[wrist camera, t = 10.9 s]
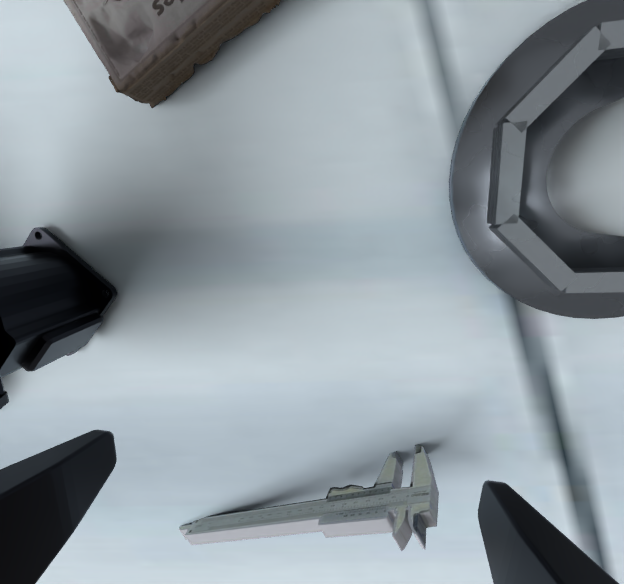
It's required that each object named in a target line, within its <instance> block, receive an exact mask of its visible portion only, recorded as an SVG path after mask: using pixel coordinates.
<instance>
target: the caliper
mask: <svg viewBox="0 0 624 584" xmlns="http://www.w3.org/2000/svg"><path fill="white" fill-rule="evenodd" d="M402 466H403V462H402V460H401V458H400V456H399V455H398V453H397V451H396V452H393V453H390V454H389V456H388V458H387V460H386V462H385V464H384V466H383V468H382V470H381V472H380V474H379V476H378V478H377V480H376V482H375V484H374V486H373V487H369V488H363V487H362V486H356V485H348V486H346V487H343V488H337V487H332V488H330V489H329V492H328V494H327V497H326V499H320V500H313V501H307V502H300V503H294V504H287V505H281V506H274V507H268V508H261V509H255V510H248V511H241V512H234V513H227V514H220V515H213V516H208V517H205V518H202V519H199V520H196V521H194V522H193V523H192V524H188V525H182V526H180V527H179V530H180V532H181V533H182V534H183V536H184V537H185V539H186V540H188V541H189V542H190V544H191V545H197V544H207V543H217V542H228V541H237V540H247V539H256V538H266V537H275V536H285V535H294V534H304V533H313V532H323V534H324V535H325V537H326V538H328V537H341V536H354V535H367V534H380V533H391V532H393V534H392V536H393V538H394V539H395V541H396V543H397V545H398V546H399V548H400V550H401V551H402V550H403V549H404V548H405V546H406V545H407V543H408V541H409V539H410V537H411V535H412V531H413V533H414V535H415V537H416V538H417V540H418V542H419V544H420V545H421V547H422V548H423V549H425V544H426V528H428V527H435V526H437V515H438V496H439V492H438V489H437V485H436V481H435V477H434V473H433V470H432V466H431V463H430V460H429V458H428V456H427V454H426V452H425V450H424V448H423V447H422V446H420V445H415V452H414V461H413V469H412V477H411V484H410V487H402V488H401V483H402V475H403V470H402Z"/></svg>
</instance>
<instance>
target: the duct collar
mask: <svg viewBox="0 0 624 584" xmlns="http://www.w3.org/2000/svg"><path fill="white" fill-rule="evenodd" d="M622 98H624V0H587V1H585V2H582V3H580V4H578V5H576V6H574V7H572V8H570V9H568V10H567V11H565V12H564V13H562V14H560V15H559V16H557V17H555V18H554V19H552V20H551V21H549V22H548V23H546V24H545V25H544V26H542V27H541V28H540V29H539V30H537V31H536V32H535V33H533V34H532V35H531V36H530V37H528V38H527V39H526V40H525V41H524V42H523V43H522V44H521V45H520V46H519V47H518V48H517V49H516V50H515V51H514V52H513V53H512V54H511V55H510V56H509V57H508V58H507V59H506V60H505V61H504V62H503V63H502V64H501V65H500V66H499V67H498V68H497V70H496V71H495V72H494V73H493V74H492V76H491V77H490V78H489V79H488V81H487V82H486V83H485V85H484V86H483V88H482V89H481V91H480V92H479V94H478V95H477V97H476V98H475V100H474V101H473V103H472V105H471V107H470V109H469V111H468V113H467V115H466V117H465V119H464V121H463V124H462V127H461V129H460V132H459V135H458V137H457V140H456V144H455V148H454V152H453V156H452V160H451V168H450V178H449V198H450V206H451V212H452V218H453V222H454V225H455V228H456V231H457V235H458V237H459V239H460V241H461V243H462V245H463V247H464V250H465V251H466V253H467V254H468V256H469V257H470V259H471V260H472V262H473V263H474V265H475V266H476V267H477V268H478V269H479V271H480V272H481V273H482V274H483V275H484V276H485V277H486V278H487V279H488V280H489V281H491V282H492V283H493V284H494V285H495V286H497V287H498V288H499V289H501V290H502V291H504V292H505V293H507V294H509V295H510V296H512V297H513V298H515V299H517V300H519V301H520V302H522V303H525V304H527V305H529V306H531V307H534V308H536V309H539V310H542V311H545V312H549V313H552V314H556V315H562V316H567V317H573V318H590V319H598V318H614V317H621V316H624V236H615V235H606V234H597V233H590V232H586V231H582V230H579V229H577V228H575V227H573V226H571V225H569V224H568V223H566V222H565V221H564V220H563V219H562V218H561V217H560V216H559V215H558V214H557V213H556V211H555V210H554V208H553V206H552V204H551V202H550V200H549V196H548V192H547V184H546V181H547V170H548V165H549V162H550V159H551V156H552V154H553V152H554V149H555V148H556V146H557V144H558V143H559V141H560V140H561V138H562V137H563V136H564V134H565V133H566V132H567V131H568V130H569V129H570V128H571V127H572V126H573V125H574V124H575V123H576V122H577V121H578V120H580V119H581V118H583V117H584V116H585V115H587V114H588V113H590V112H592V111H594V110H596V109H598V108H600V107H603V106H605V105H608V104H610V103H612V102H615V101H617V100H620V99H622Z"/></svg>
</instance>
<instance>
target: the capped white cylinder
mask: <svg viewBox="0 0 624 584" xmlns="http://www.w3.org/2000/svg"><path fill="white" fill-rule="evenodd" d="M546 184H547V192H548V196H549V200H550V202H551V204H552V206H553V208H554V210H555V211H556V213H557V214H558V215H559V216H560V217H561V218H562V219H563V220H564V221H565V222H566V223H568V224H569V225H571V226H573V227H575V228H577V229H579V230H582V231H586V232H590V233H597V234H606V235H615V236H624V98H622V99H620V100H617V101H615V102H612V103H610V104H608V105H605V106H603V107H600V108H598V109H596V110H594V111H592V112H590V113H588V114H587V115H585V116H584V117H583V118H581V119H580V120H578V121H577V122H576V123H575V124H574V125H573V126H572V127H571V128H570V129H569V130H568V131H567V132H566V133H565V134H564V136H563V137H562V138H561V140H560V141H559V143H558V144H557V146H556V148H555V149H554V152H553V154H552V156H551V159H550V162H549V165H548V170H547V181H546Z"/></svg>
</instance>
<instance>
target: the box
mask: <svg viewBox="0 0 624 584" xmlns="http://www.w3.org/2000/svg"><path fill="white" fill-rule="evenodd" d="M280 1H281V0H64V2H65V4H66V5H67V6H68V8H69V10H70V11H71V13H72V14H73V16H74V18H75V20H76V21H77V23H78V24H79V26H80V27H81V29H82V31H83V33H84V34H85V36H86V38H87V39H88V41H89V42H90V44H91V45H92V47H93V49H94V50H95V52H96V54H97V55H98V57H99V59H100V60H101V61H102V63H103V65H104V66H105V68H106V69H107V71H108V73H109V75H110V76H109V80H110V81H111V80H112V81H111V83H112V85H113V86H114V88H115V91H116V92H120V93H122V94H125V95H127V96H129V97H131V98H132V99H134V100H135V101H139V102H141V103H149V104H150V106H151V107H152V108H153V107H154V106H155V105H157V104H159V102H160V101H162V100H166V96H169V95H171V94H172V93H173V92H174V91H175V90H176V89H177V88H178V87H179V86H180V85H181V83H182V82H183V83H184V82H185V81H186V80H188V79H189V78H190V77H191V76H192V74H193V73H194V68H193V66H194V64H199V65H202V64H205V63H207V62H209V61H211V60H212V59H213V58H214V57H215V54H216V53H217V51H218V50H219V47H220V45H221V44H222V43H223V42H226V41H228V40H230V39H232V38H234V37H235V36H238V35H239V34H240V33H241V32H242V31H243V30H245V29H246V28H248V27H250V26H252V25H254V24H256V23H257V22H258V21H259V20H260V18H261V16H262V14H263V13H270V11H271V9H273V7H274V8H275V5H278V6H279V3H280Z"/></svg>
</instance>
